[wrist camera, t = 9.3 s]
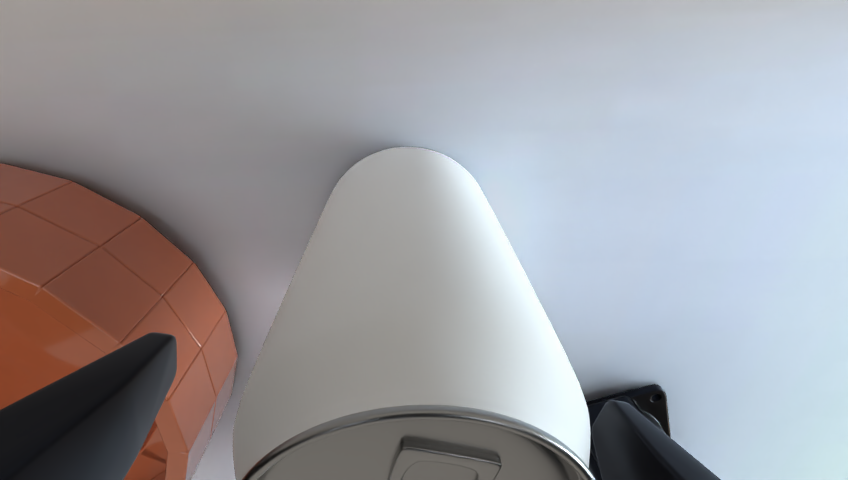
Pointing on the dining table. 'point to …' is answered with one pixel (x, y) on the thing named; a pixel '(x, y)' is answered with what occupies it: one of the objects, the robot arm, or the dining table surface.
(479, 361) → the can
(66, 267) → the bowl
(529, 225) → the dining table surface
